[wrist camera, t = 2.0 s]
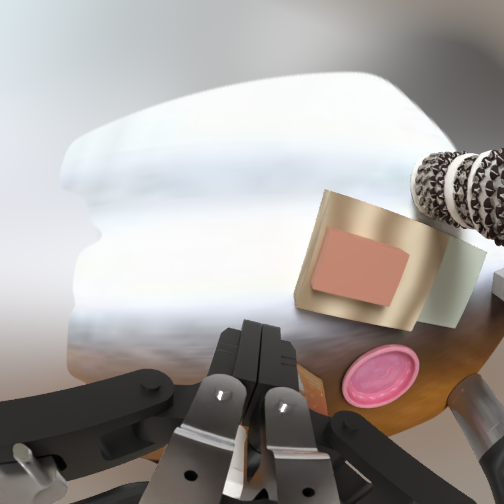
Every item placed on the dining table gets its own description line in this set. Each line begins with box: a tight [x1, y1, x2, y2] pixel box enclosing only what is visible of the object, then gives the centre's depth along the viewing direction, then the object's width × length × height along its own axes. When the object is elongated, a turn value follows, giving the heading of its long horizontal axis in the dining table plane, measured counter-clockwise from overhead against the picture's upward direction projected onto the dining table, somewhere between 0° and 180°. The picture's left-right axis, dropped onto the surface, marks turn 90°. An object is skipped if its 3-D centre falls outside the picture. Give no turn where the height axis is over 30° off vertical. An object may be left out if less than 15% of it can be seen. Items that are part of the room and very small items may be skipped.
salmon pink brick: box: [310, 226, 410, 307], centre depth 27 cm, size 9×6×2 cm, turn 76°
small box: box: [297, 363, 328, 416], centre depth 32 cm, size 8×6×10 cm
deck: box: [294, 190, 450, 331], centre depth 30 cm, size 16×13×4 cm
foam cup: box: [222, 425, 247, 498], centre depth 36 cm, size 10×9×13 cm
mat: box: [417, 235, 487, 328], centre depth 31 cm, size 12×13×1 cm
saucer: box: [342, 344, 419, 408], centre depth 35 cm, size 12×12×3 cm
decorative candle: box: [410, 148, 504, 246], centre depth 16 cm, size 9×9×25 cm
